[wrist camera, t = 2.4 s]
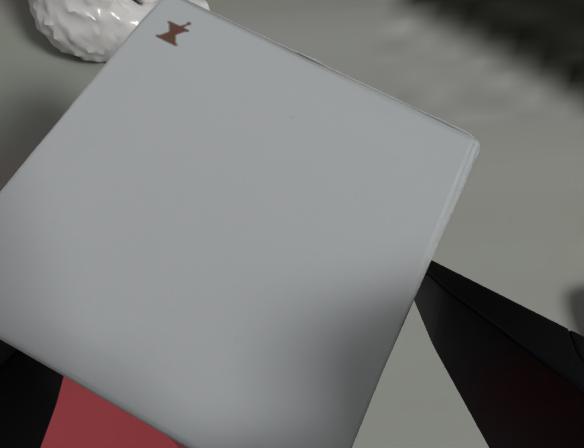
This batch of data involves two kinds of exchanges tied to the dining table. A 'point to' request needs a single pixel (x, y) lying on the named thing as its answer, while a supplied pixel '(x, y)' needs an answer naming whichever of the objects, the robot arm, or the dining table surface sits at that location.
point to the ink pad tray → (97, 424)
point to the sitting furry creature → (91, 24)
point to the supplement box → (226, 235)
